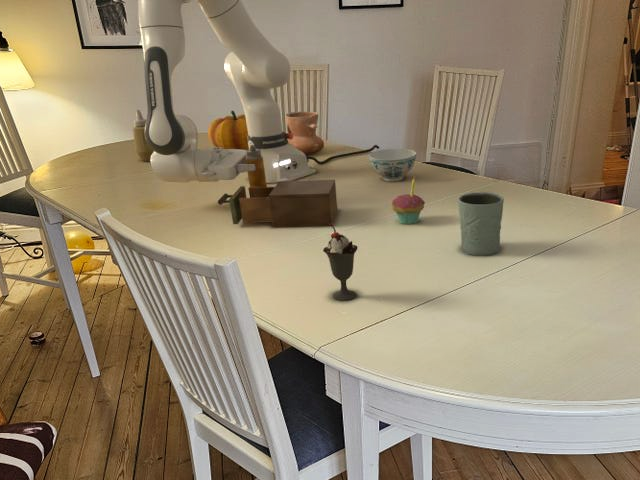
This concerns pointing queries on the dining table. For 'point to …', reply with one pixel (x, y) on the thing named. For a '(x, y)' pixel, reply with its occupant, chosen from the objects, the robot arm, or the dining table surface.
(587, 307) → the dining table surface
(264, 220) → the drawer
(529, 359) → the dining table surface
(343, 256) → the sundae
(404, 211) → the cupcake
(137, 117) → the squeeze bottle
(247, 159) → the pepper mill
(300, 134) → the ceramic jug
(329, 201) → the cabinet
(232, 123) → the decorative pumpkin
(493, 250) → the green embossed cup
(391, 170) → the chinaware
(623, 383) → the dining table surface
